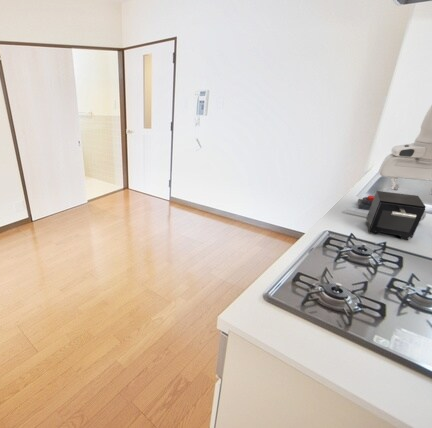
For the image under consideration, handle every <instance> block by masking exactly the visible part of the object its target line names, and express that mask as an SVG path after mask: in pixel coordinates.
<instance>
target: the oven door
mask: <svg viewBox="0 0 432 428" xmlns="http://www.w3.org/2000/svg"><path fill="white" fill-rule="evenodd" d="M424 211H425V212H426V207H425V208H421V207H414V206H406V205H399V204H392V203H384V202H380V205H379V208H378V210H377V213H376V215H375V218H374V221H373V223H372V226H371V228H370V230H372V231H377V233H383V234H384V233H385V234H389V235H394V236H399V237H400V236H405V237H409V238H410V239H411V238H413V237H414V235H415V233H416V230H417V229H418V226H419V224H420V222H421V221H420V220H421V217H422V215H423V213H424Z"/></svg>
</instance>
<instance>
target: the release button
mask: <svg viewBox="0 0 432 428" xmlns="http://www.w3.org/2000/svg"><path fill="white" fill-rule="evenodd" d="M374 196H375V195H367V197H368V198H367V200H370V201H373V199H374Z"/></svg>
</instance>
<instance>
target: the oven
mask: <svg viewBox="0 0 432 428" xmlns="http://www.w3.org/2000/svg"><path fill="white" fill-rule="evenodd" d="M373 196H374V199H373V202H372V204H371V207H370V210H368V213H367V215H366V218H365V219H366V224H367V228H368V233H369V234H371V235H376V234H377V233H378V232H377V231H372V230H370V228H371V226H372V223H373V221H374V218H375V215H376V213H377V210H378V208H379V205H380V202H384V203H392V204H399V205H406V206H414V207H421V208H425V209H426V207H427V206H426V205H425V204H424V202H423V200H422V199H421V198H420V196H419V195H415V194H408V193H407V194H406V193H399V192H390V191H383V190H376V191H375V194H374V195H373ZM409 238H410V237H405V236H399V239H400V240H403V241H404V240H405V241H408V240H409Z"/></svg>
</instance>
